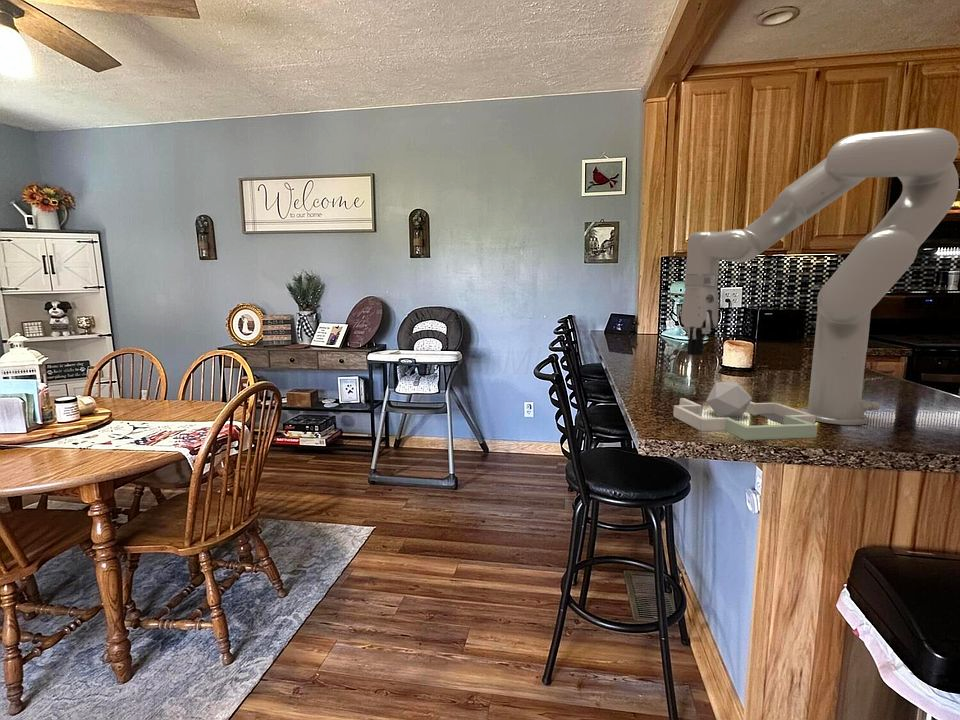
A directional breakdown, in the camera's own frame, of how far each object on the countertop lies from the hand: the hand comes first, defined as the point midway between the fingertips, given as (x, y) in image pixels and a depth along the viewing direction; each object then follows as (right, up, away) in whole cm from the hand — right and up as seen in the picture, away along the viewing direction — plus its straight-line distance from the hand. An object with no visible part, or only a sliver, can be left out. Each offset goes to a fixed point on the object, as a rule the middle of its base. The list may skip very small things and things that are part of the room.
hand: (694, 354), depth 127 cm
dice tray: (+3, -15, -18) cm, 24 cm away
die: (+2, -15, -13) cm, 20 cm away
